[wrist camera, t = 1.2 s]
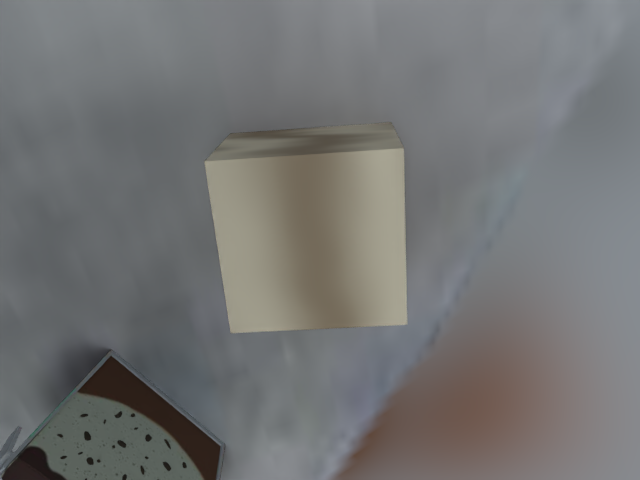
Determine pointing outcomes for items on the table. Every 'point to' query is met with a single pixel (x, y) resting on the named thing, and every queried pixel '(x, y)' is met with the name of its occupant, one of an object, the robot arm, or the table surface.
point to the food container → (115, 434)
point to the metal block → (311, 227)
